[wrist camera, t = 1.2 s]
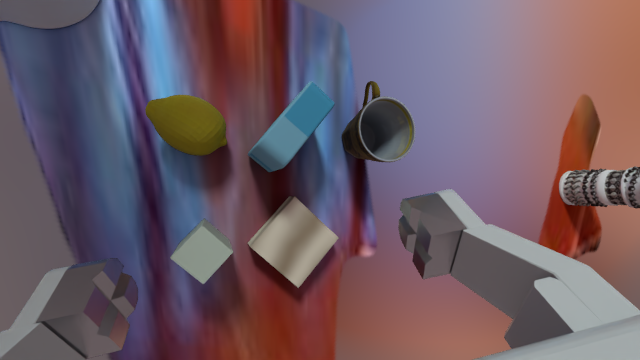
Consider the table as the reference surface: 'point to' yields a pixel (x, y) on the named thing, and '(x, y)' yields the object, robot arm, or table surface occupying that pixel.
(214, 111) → the lemon
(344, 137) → the ceramic cup
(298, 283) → the birch block
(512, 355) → the robot arm
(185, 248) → the sage block
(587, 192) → the decorative candle
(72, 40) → the table surface
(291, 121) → the blue rounded box
